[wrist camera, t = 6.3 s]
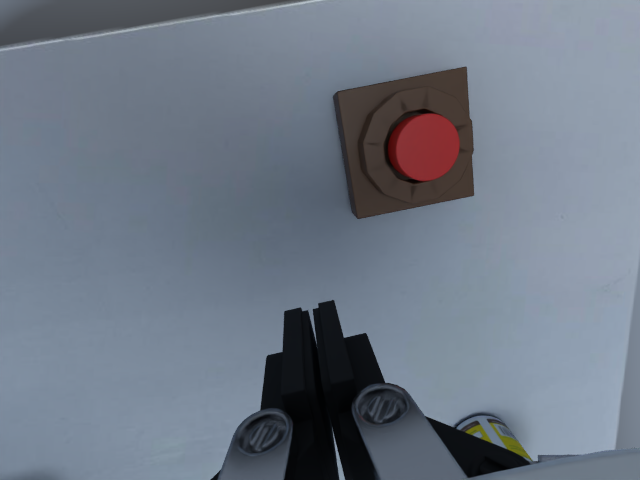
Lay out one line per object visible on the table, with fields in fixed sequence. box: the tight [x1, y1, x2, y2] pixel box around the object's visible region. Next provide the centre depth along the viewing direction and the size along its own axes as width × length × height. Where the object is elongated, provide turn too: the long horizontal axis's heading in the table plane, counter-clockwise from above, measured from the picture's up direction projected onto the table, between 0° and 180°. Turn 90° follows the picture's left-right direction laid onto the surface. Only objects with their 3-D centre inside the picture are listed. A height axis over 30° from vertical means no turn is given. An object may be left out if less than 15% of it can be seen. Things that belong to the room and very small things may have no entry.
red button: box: [388, 113, 460, 181], centre depth 20 cm, size 4×4×2 cm
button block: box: [333, 67, 474, 219], centre depth 23 cm, size 8×8×4 cm
